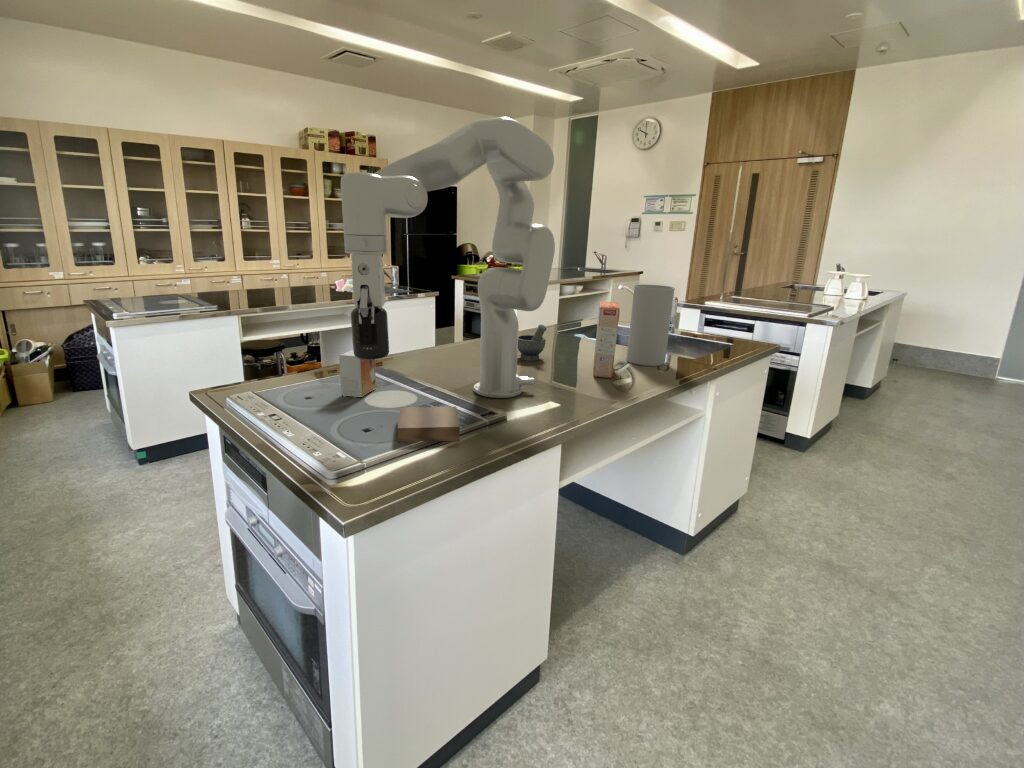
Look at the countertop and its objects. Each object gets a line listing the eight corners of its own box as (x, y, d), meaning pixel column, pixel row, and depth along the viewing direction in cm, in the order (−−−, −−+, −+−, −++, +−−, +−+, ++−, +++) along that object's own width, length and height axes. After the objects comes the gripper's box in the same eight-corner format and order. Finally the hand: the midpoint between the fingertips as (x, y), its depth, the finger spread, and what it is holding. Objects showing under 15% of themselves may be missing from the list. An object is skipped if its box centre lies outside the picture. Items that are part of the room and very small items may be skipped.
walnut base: (456, 419, 114) (456, 406, 113) (459, 440, 102) (459, 426, 101) (400, 420, 112) (400, 407, 111) (397, 442, 100) (397, 428, 99)
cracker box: (613, 379, 150) (620, 307, 144) (592, 377, 151) (599, 306, 145) (612, 367, 163) (618, 301, 157) (593, 365, 164) (598, 300, 158)
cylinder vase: (627, 365, 166) (636, 287, 159) (625, 356, 178) (632, 283, 171) (667, 368, 165) (677, 289, 158) (661, 359, 177) (671, 285, 170)
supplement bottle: (357, 351, 104) (353, 291, 100) (391, 351, 104) (389, 292, 101) (349, 359, 97) (345, 296, 94) (386, 360, 98) (383, 297, 94)
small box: (362, 398, 124) (360, 356, 121) (340, 396, 125) (338, 354, 122) (376, 389, 132) (375, 349, 129) (356, 387, 133) (354, 347, 130)
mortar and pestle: (509, 357, 171) (510, 321, 168) (529, 353, 177) (531, 318, 174) (532, 364, 163) (534, 326, 160) (553, 360, 169) (555, 324, 166)
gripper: (382, 248, 87) (386, 350, 92) (390, 243, 103) (393, 331, 109) (336, 247, 86) (343, 350, 91) (351, 242, 102) (357, 331, 107)
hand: (370, 339), depth 100 cm, fingers closed on supplement bottle, 6 cm apart
